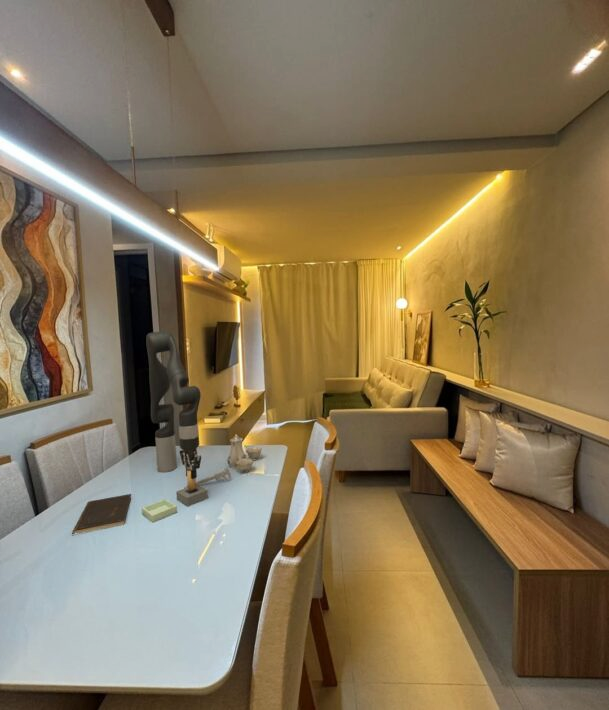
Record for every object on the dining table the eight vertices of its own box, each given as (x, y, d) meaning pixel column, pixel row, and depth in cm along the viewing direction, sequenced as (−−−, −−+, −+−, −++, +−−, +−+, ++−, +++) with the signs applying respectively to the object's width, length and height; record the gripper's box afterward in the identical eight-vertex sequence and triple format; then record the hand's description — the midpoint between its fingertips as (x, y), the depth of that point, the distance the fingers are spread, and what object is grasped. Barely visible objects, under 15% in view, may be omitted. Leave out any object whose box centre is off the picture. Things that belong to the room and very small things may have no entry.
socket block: (176, 499, 140) (176, 491, 140) (196, 492, 147) (196, 484, 147) (187, 506, 134) (187, 497, 134) (208, 498, 141) (207, 489, 141)
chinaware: (253, 479, 163) (255, 444, 162) (218, 476, 163) (220, 442, 162) (262, 458, 191) (264, 428, 190) (232, 456, 191) (234, 426, 190)
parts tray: (142, 514, 130) (141, 507, 129) (166, 505, 136) (165, 499, 136) (152, 522, 123) (152, 515, 123) (177, 512, 130) (176, 506, 130)
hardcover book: (131, 499, 144) (131, 493, 144) (124, 526, 123) (124, 519, 123) (87, 507, 138) (87, 501, 138) (72, 537, 117) (71, 530, 117)
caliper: (230, 480, 159) (229, 467, 159) (230, 481, 158) (230, 467, 158) (183, 488, 152) (183, 474, 152) (183, 489, 151) (183, 475, 151)
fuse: (186, 488, 141) (184, 466, 140) (193, 485, 143) (192, 464, 143) (190, 490, 138) (189, 468, 138) (198, 487, 141) (196, 466, 140)
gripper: (172, 434, 142) (174, 475, 143) (189, 441, 132) (191, 484, 133) (188, 430, 147) (191, 470, 148) (206, 436, 137) (208, 478, 138)
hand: (191, 476), depth 140 cm, fingers closed on fuse, 3 cm apart
